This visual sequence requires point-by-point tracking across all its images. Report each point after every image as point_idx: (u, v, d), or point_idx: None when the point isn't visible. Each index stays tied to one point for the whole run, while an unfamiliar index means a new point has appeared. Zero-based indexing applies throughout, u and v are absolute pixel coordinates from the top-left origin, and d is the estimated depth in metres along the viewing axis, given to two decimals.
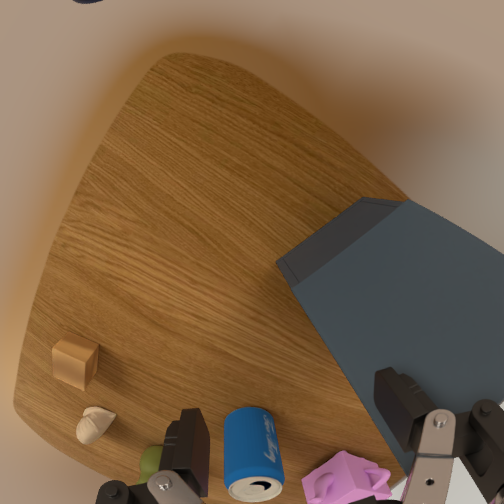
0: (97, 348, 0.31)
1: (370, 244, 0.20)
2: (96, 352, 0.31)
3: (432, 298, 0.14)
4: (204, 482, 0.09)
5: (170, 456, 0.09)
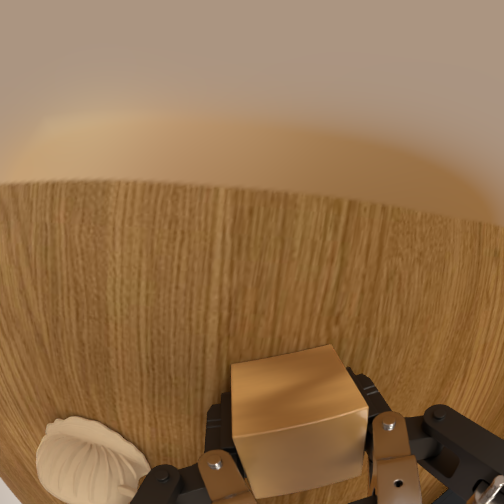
0: None
1: None
2: None
3: None
4: None
5: (215, 437, 0.10)
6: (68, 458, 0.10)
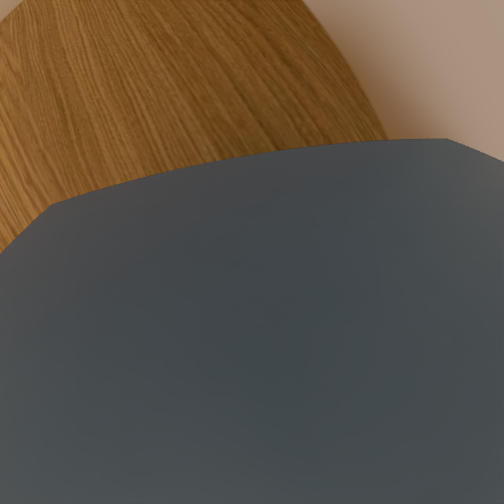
0: None
1: (300, 162, 0.06)
2: None
3: None
4: None
5: None
6: None
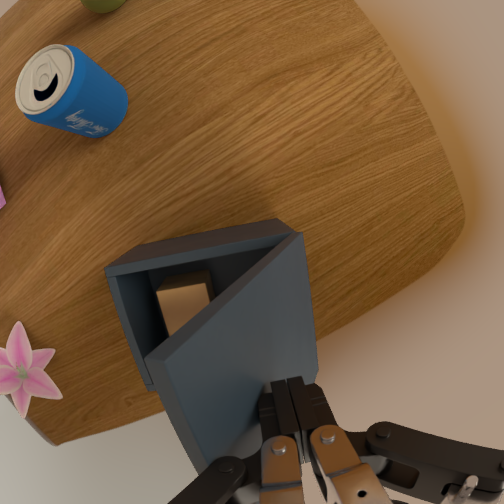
0: None
1: (309, 324, 0.21)
2: None
3: None
4: None
5: (271, 425, 0.10)
6: None
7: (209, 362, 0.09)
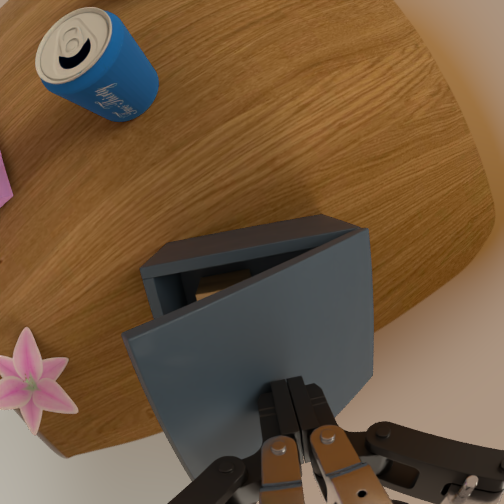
0: None
1: (364, 327, 0.19)
2: None
3: None
4: None
5: (271, 425, 0.10)
6: None
7: (184, 349, 0.10)
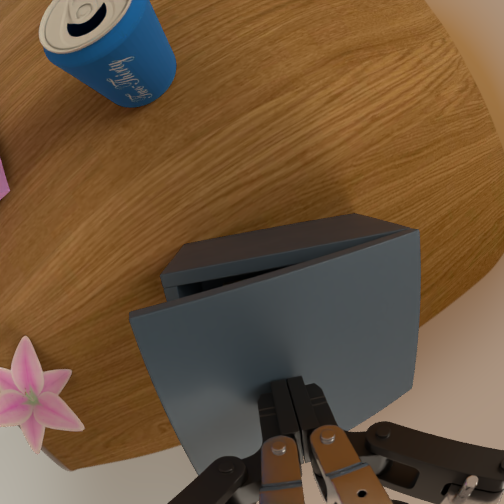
0: None
1: (405, 337, 0.16)
2: None
3: None
4: None
5: (270, 425, 0.10)
6: None
7: (183, 334, 0.11)
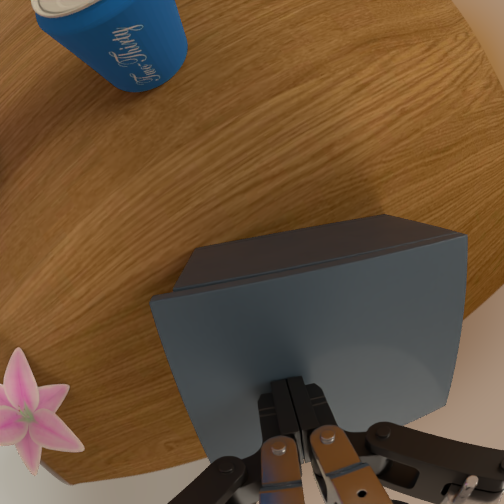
0: None
1: (443, 351, 0.14)
2: None
3: (334, 390, 0.13)
4: None
5: (270, 425, 0.10)
6: None
7: (198, 321, 0.12)
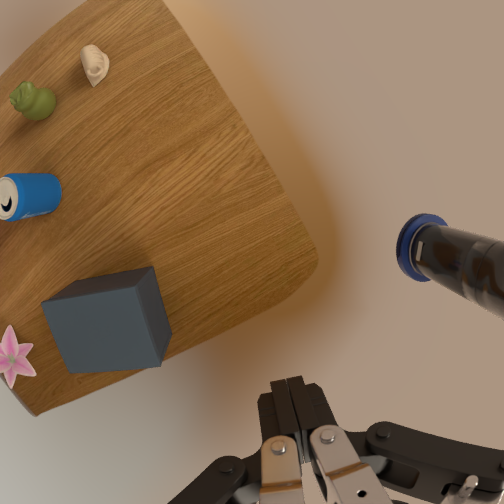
0: None
1: (139, 335, 0.36)
2: None
3: (95, 339, 0.35)
4: None
5: (271, 425, 0.10)
6: (100, 51, 0.33)
7: (52, 309, 0.34)
